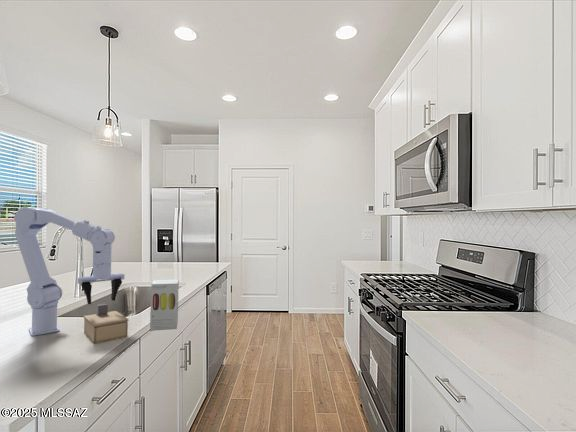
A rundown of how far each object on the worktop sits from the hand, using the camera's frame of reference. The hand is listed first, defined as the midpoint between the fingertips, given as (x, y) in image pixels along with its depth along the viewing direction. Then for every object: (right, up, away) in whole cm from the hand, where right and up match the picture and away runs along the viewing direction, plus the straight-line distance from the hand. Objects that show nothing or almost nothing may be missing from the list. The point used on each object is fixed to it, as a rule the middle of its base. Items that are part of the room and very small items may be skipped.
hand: (101, 301), depth 119 cm
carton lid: (+3, -5, -4) cm, 7 cm away
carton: (+3, -10, -4) cm, 12 cm away
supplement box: (+20, -11, +6) cm, 24 cm away
